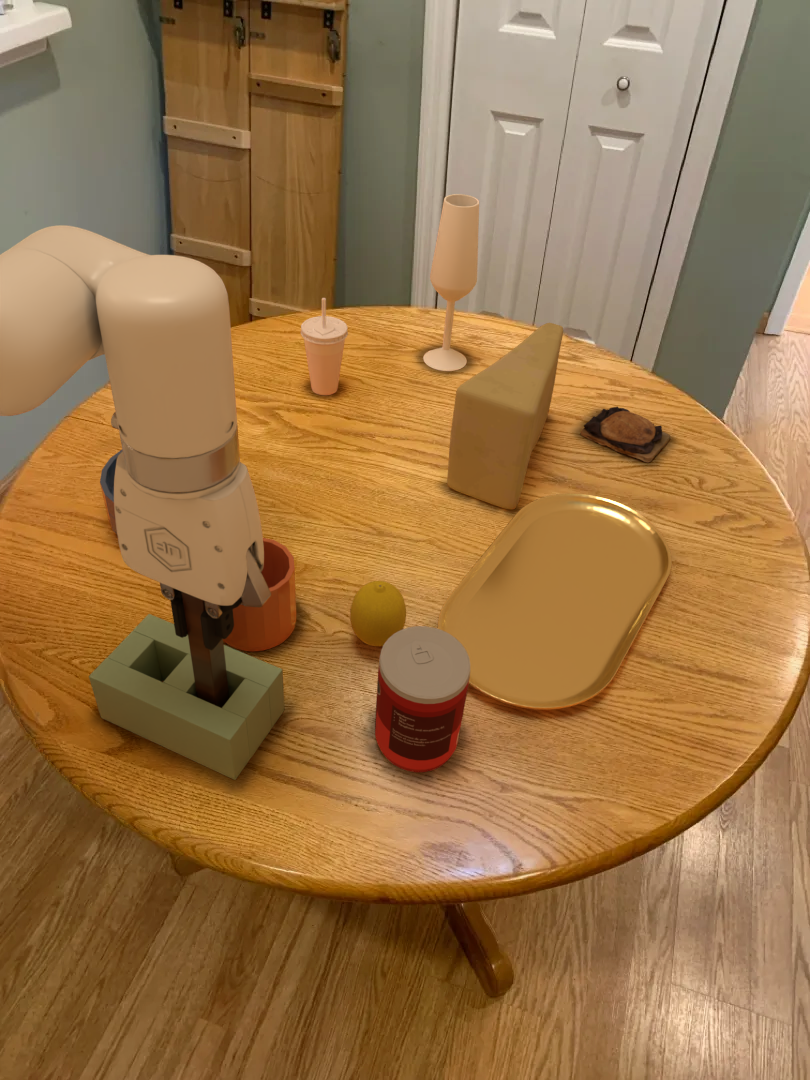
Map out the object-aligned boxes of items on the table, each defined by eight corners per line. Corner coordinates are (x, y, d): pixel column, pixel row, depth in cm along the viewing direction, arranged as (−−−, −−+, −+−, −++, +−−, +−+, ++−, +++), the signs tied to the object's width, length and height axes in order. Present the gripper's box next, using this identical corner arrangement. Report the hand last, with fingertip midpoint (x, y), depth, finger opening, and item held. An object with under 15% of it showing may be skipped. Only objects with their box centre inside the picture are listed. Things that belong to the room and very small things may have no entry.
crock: (215, 654, 83) (207, 598, 78) (215, 595, 89) (208, 539, 84) (298, 648, 85) (296, 592, 79) (293, 590, 91) (291, 534, 85)
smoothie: (299, 398, 118) (296, 306, 109) (304, 374, 123) (303, 284, 114) (344, 402, 118) (346, 309, 109) (348, 378, 123) (350, 287, 114)
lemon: (386, 670, 83) (390, 614, 78) (339, 647, 85) (339, 591, 80) (413, 634, 87) (419, 579, 82) (367, 613, 89) (369, 558, 83)
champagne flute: (437, 374, 125) (453, 212, 109) (415, 353, 130) (427, 194, 114) (475, 365, 128) (496, 206, 112) (452, 345, 132) (469, 188, 116)
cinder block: (235, 780, 73) (229, 740, 69) (100, 717, 77) (88, 676, 73) (285, 709, 79) (282, 668, 75) (157, 655, 83) (148, 613, 79)
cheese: (509, 405, 120) (525, 308, 110) (573, 426, 117) (596, 328, 107) (441, 488, 105) (453, 384, 95) (513, 514, 102) (534, 410, 92)
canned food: (422, 690, 82) (432, 612, 74) (475, 748, 77) (491, 672, 70) (356, 726, 78) (360, 648, 71) (408, 790, 73) (417, 714, 66)
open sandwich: (672, 439, 117) (680, 417, 114) (647, 467, 111) (654, 444, 109) (603, 410, 121) (609, 388, 119) (575, 435, 116) (581, 412, 113)
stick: (217, 721, 75) (202, 596, 64) (198, 712, 75) (180, 586, 65) (230, 705, 76) (217, 579, 65) (211, 696, 77) (195, 570, 66)
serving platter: (402, 661, 84) (403, 651, 83) (545, 484, 107) (547, 474, 106) (576, 750, 78) (579, 740, 77) (689, 541, 101) (692, 531, 100)
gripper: (47, 440, 56) (94, 627, 68) (253, 518, 52) (264, 701, 64) (120, 388, 61) (152, 570, 73) (313, 454, 57) (313, 635, 69)
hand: (204, 630), depth 69 cm, fingers closed on stick, 2 cm apart
